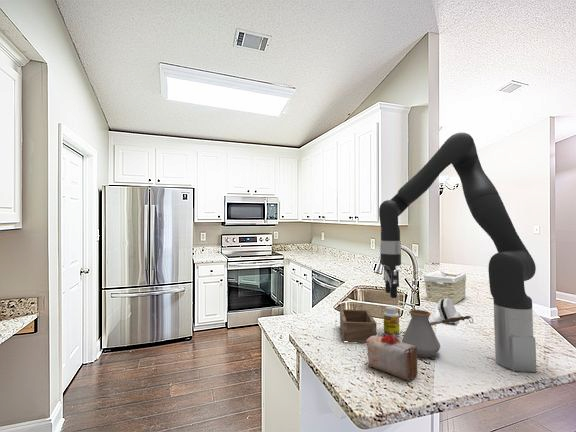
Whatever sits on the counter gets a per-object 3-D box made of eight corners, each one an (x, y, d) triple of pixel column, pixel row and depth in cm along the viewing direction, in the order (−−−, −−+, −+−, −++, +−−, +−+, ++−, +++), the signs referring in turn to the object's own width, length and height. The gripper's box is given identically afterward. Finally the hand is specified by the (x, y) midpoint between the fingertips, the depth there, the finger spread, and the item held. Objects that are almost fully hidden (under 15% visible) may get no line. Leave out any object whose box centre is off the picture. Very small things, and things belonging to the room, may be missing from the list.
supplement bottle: (382, 335, 112) (381, 308, 112) (385, 331, 116) (385, 305, 117) (398, 338, 109) (397, 310, 109) (400, 333, 114) (400, 306, 114)
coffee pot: (394, 351, 98) (394, 305, 98) (412, 342, 105) (412, 299, 105) (465, 376, 81) (464, 320, 82) (481, 364, 88) (480, 312, 89)
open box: (376, 343, 104) (376, 323, 104) (343, 342, 105) (343, 322, 105) (368, 327, 121) (368, 310, 121) (340, 326, 122) (339, 309, 123)
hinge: (456, 326, 123) (446, 301, 125) (444, 328, 125) (435, 304, 128) (461, 316, 136) (452, 294, 139) (450, 318, 139) (441, 297, 141)
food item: (362, 367, 87) (362, 332, 87) (376, 358, 92) (376, 326, 93) (408, 384, 77) (407, 345, 77) (421, 374, 82) (420, 337, 83)
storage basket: (455, 306, 155) (454, 277, 156) (423, 300, 166) (422, 274, 167) (467, 298, 172) (467, 272, 173) (438, 294, 183) (437, 270, 184)
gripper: (405, 254, 107) (406, 300, 106) (396, 251, 121) (396, 291, 120) (384, 254, 107) (384, 299, 107) (377, 250, 122) (377, 290, 121)
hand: (390, 295), depth 114 cm, fingers open, 8 cm apart
